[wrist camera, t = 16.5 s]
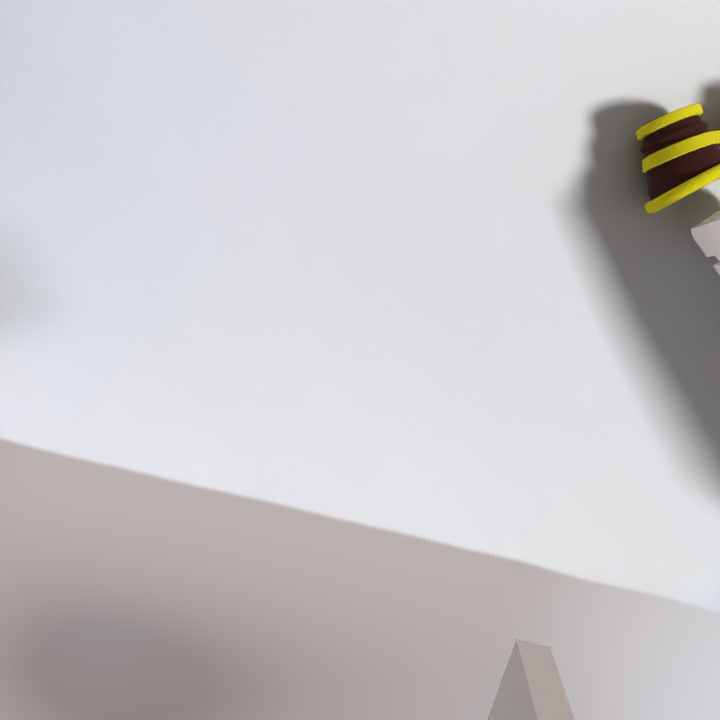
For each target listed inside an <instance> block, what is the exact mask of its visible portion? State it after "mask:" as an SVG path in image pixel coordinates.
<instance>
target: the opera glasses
mask: <svg viewBox="0 0 720 720" xmlns="http://www.w3.org/2000/svg"><path fill="white" fill-rule="evenodd" d="M702 113H703V109H702V106H701V104H694V105H690V106H687V107H684V108H681V109H678V110H676V111H673V112H671V113H668V114H666V115H664V116H662V117H659V118H657V119H655V120H653V121H651V122H649V123H648V124H646V125H644V126H642V127H641V128H639V129H638V130H637V131H636V136H637V139H638V140H640V141H643V145H644V146H643V147H642V149H641V152H643V153H644V154H645V159H643V160H642V169H643V173H644V174H646V173H647V178H648V187H649V195H650V201H648V202H647V203H646V204H645V206H644V207H645V210H646V212H648V213H654V212H658V211H660V210H662V209H664V208H665V207H667V206H669V205H671V204H673V203H674V202H676V201H678V200H680V199H682V198H684V197H685V196H687V195H689V194H691V193H693V192H695V191H696V190H698V189H700V188H702V187H704V186H706V185H708V184H709V183H711V182H713V181H715V180H717V179H719V178H720V149H719V147H718V146H717V145H718V144H719V143H720V130H717V131H708V130H707V125H708V123H707V122H705V121H702V120H701V118H700V115H701V114H702Z"/></svg>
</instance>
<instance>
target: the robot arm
mask: <svg viewBox="0 0 720 720" xmlns="http://www.w3.org/2000/svg"><path fill="white" fill-rule="evenodd" d="M488 720H574V717H573V714H572V711H571V708H570V705H569V702H568V699H567V696H566V693H565V690H564V687H563V684H562V681H561V678H560V675H559V672H558V669H557V666H556V663H555V660H554V657H553V654H552V651H551V648H550V647H547V646H543V645H538V644H534V643H530V642H526V641H522V640H518V639H516V642H515V645H514V648H513V650H512V653H511V656H510V659H509V662H508V664H507V667H506V670H505V673H504V675H503V678H502V681H501V684H500V686H499V689H498V692H497V695H496V698H495V700H494V703H493V706H492V709H491V712H490V714H489V717H488Z"/></svg>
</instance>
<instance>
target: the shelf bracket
mask: <svg viewBox="0 0 720 720" xmlns="http://www.w3.org/2000/svg"><path fill="white" fill-rule="evenodd" d="M691 232H692V236H693V239H694V240H695V241H696V243H697V244H698V246H699V247H700V248H701V250H702V251H703V253H704V254H705V255H706V257H711V256H716V258H717V259H718V260H719V262H717V263H716V264H714V265H713V267H714V268H715V269H716V271H717V272H718V274H719V275H720V210H719V211H717V212H716V213H714V214H713V215H711V216H710V217H708V218H707V219H705V220H704V221H702V222H701V223H699V224H698V225H696V226H695V227H693V228H692V229H691Z"/></svg>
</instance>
